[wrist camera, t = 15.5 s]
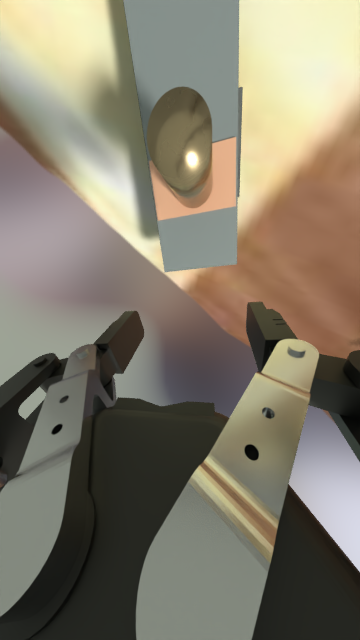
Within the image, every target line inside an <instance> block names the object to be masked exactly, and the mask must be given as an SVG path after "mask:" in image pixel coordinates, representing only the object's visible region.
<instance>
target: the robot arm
mask: <svg viewBox="0 0 360 640" xmlns="http://www.w3.org/2000/svg"><path fill="white" fill-rule="evenodd" d="M246 331H247V335H248V339H249V342H250V345H251V348H252V351H253V355H254V358H255V361H256V364H257V368H258V372H257V373H256V374H255V375H254V377H253V379H252V380H251V382H250V384H249V386H248V387H247V389H246V391H245V393H244V394H243V396H242V398H241V399H240V401H239V403H238V405H237V406H236V408H235V410H234V412H233V413H232V415H231V417H230V418H228V417H227V416H224V415H222V414H220V413H217V412H215V407H214V403H204V402H183V403H178V404H173V405H168V406H157V405H155V404H152V403H149V402H146V401H144V400H141V399H135V398H118V399H116V387H115V379H114V377H113V375H114V374H115V373H117V374H123V373H124V371H125V369H126V367H127V366H128V364H129V362H130V360H131V359H132V357H133V355H134V353H135V351H136V349H137V348H138V346H139V344H140V342H141V341H142V339H143V337H144V329H143V326H142V323H141V320H140V317H139V314H138V312H137V311H126V312H124V313H123V314H122V315H121V317H120V318H119V319H118V320H116V321H115V322H113V323H112V324H111V325H110V326H109V328H108V329H107V330H106V331H105V332H104V333H103V334H102V335H101V336H100V337H99V338H98V339H97V340H96V341H95V343H94V344H87V345H84V346H81V347H79V348H77V349H76V350H75V351H73V352H72V353H71V354H70V356H69V358H65V359H61V360H59V359H58V357H57V356H56V355H55V354H54V353H49V354H45V355H42V356H40V357H38V358H36V359H35V360H33V361H32V362H30V363H29V364H28V365H27V366H25V367H24V368H23V369H22V370H20V371H19V372H18V373H17V374H15V375H14V376H13V377H12V378H10V379H9V380H8V381H6V382H5V383H4V384H3V385H1V386H0V640H360V572H359V571H358V569H357V568H356V567H355V566H354V564H353V563H352V562H351V561H350V560H349V558H348V557H347V556H346V555H345V553H344V552H343V551H342V550H341V549H340V547H339V546H338V545H337V543H336V542H335V541H334V540H333V539H332V537H331V536H330V535H329V534H328V532H327V531H326V530H325V529H324V527H323V526H322V525H321V524H320V522H319V521H318V520H317V519H316V518H315V516H314V515H313V514H312V513H311V512H310V510H309V509H308V508H307V507H306V505H305V504H304V503H303V501H301V499H300V498H299V497H298V495H297V494H296V493H295V492H294V490H293V489H292V488H291V487H290V485H289V484H288V483H289V479H290V475H291V471H292V467H293V463H294V460H295V456H296V451H297V448H298V443H299V440H300V435H301V432H302V428H303V424H304V420H305V416H306V412H307V408H308V405H311V406H314V407H317V408H320V409H323V410H327V411H328V412H329V413H330V415H331V417H332V418H333V420H334V421H335V423H336V425H337V426H338V428H339V429H340V431H341V433H342V434H343V436H344V437H345V439H346V441H347V442H348V444H349V445H350V447H351V449H352V450H353V452H354V453H355V455H356V456H357V458H358V460H359V461H360V350H357V351H353V352H351V353H350V354H349V356H348V358H347V359H343V358H338V357H332V356H327V355H322V354H319V352H318V351H317V349H316V348H315V347H314V346H312V345H311V344H309V343H307V342H305V341H301V340H298V339H297V337H296V336H295V334H294V333H293V332H292V330H291V329H290V327H289V326H288V325H287V323H286V322H285V320H283V318H282V316H281V315H280V313H278V312H276V311H275V310H273V309H266V307H265V306H264V304H263V302H249V303H248V304H247V319H246ZM39 386H40V387H41V388H42V389H43V390H44V391H45V392H46V397H45V399H44V401H42V403H41V404H40V405H39V406H38V407H37V408H36V409H35V410H34V411H33V412H32V413H31V414H30V415H29V417H28V418H27V419H26V420H25V419H24V418H22V417H21V416H20V415H19V413H18V409H19V407H20V405H21V404H22V403H23V402H24V401H25V400H26V399H27V398H28V397H29V396H30V395H31V394H32V393H33V392H34V391H35V390H36V389H37V388H38V387H39Z"/></svg>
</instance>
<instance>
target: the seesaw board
mask: <svg viewBox="0 0 360 640" xmlns="http://www.w3.org/2000/svg"><path fill="white" fill-rule="evenodd" d="M123 1H124V8H125V15H126V21H127V28H128V34H129V41H130V47H131V54H132V60H133V67H134V74H135V80H136V87H137V93H138V100H139V106H140V113H141V119H142V126H143V132H144V139H145V146H146V152H147V159H148V165H149V172H150V178H151V185H152V191H153V198H154V205H155V211H156V218H157V224H158V231H159V237H160V244H161V250H162V257H163V263H164V270H165V272H170V271H179V270H188V269H197V268H206V267H215V266H224V265H233V264H237V187H238V64H239V0H123ZM176 87H189V88H192V89H194V90H195V91H197V92H198V93H199V94H200V95H201V96H202V97H203V98H204V100H205V102H206V103H207V106H208V108H209V111H210V114H211V119H212V158H213V186H212V191H211V194H210V196H209V198H208V200H207V201H206V202H205V203H204V204H203V205H201V206H200V207H197V208H187V207H185V206H183V205H182V204H181V203H180V201H179V200H178V199H177V197H176V196H175V194H174V193H173V191H172V190H171V188H170V187H169V186H168V184H167V183H166V181H165V180H164V178H163V177H162V175H161V174H160V172H159V171H158V170H157V168H156V167H155V165H154V164H153V162H152V160H151V157H150V155H149V151H148V146H147V127H148V122H149V118H150V115H151V112H152V110H153V108H154V106H155V104H156V103H157V101H158V100H159V99H160V98H161V96H162V95H164V94H165V93H166V92H167V91H169V90H171V89H173V88H176Z"/></svg>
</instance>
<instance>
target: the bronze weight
mask: <svg viewBox="0 0 360 640" xmlns="http://www.w3.org/2000/svg"><path fill="white" fill-rule="evenodd" d="M147 146H148V151H149V155H150V157H151V160H152V162H153V164H154V165H155V167H156V168H157V170H158V171H159V172H160V174H161V175H162V177H163V178H164V180H165V181H166V183H167V184H168V186H169V187H170V188H171V190H172V191H173V193H174V194H175V196H176V197H177V199H178V200H179V201H180V203H181V204H182V205H183V206H185V207H187V208H197V207H200V206H201V205H203V204H204V203H205V202H206V201H207V200H208V198H209V196H210V194H211V191H212V186H213V158H212V119H211V114H210V111H209V108H208V106H207V103H206V102H205V100H204V98H203V97H202V96H201V95H200V94H199V93H198V92H197V91H195V90H194V89H192V88H189V87H176V88H173V89H171V90H169V91H167V92H166V93H165V94H164V95H162V96H161V98H160V99H159V100H158V101H157V103H156V104H155V106H154V108H153V110H152V112H151V115H150V118H149V122H148V127H147Z"/></svg>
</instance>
